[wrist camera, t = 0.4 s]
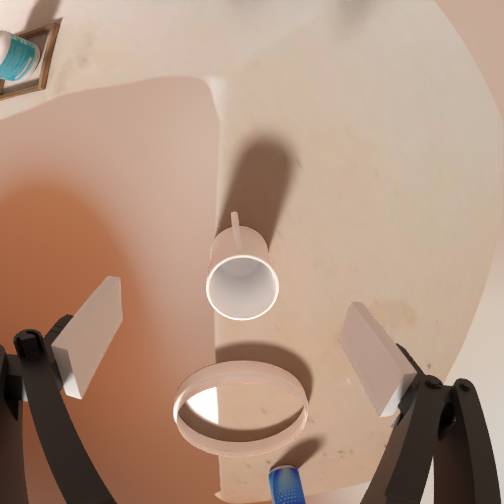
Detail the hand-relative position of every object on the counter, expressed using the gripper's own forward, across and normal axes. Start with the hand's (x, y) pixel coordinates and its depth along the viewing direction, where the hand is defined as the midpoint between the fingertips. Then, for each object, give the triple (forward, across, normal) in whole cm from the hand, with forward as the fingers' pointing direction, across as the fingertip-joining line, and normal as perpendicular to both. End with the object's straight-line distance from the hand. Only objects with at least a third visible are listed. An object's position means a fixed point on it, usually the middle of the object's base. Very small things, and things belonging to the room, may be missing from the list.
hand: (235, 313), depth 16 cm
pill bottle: (+28, -40, +24) cm, 54 cm away
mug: (+27, +2, -4) cm, 28 cm away
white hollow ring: (+28, +6, -39) cm, 48 cm away
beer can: (+27, +22, -68) cm, 77 cm away
